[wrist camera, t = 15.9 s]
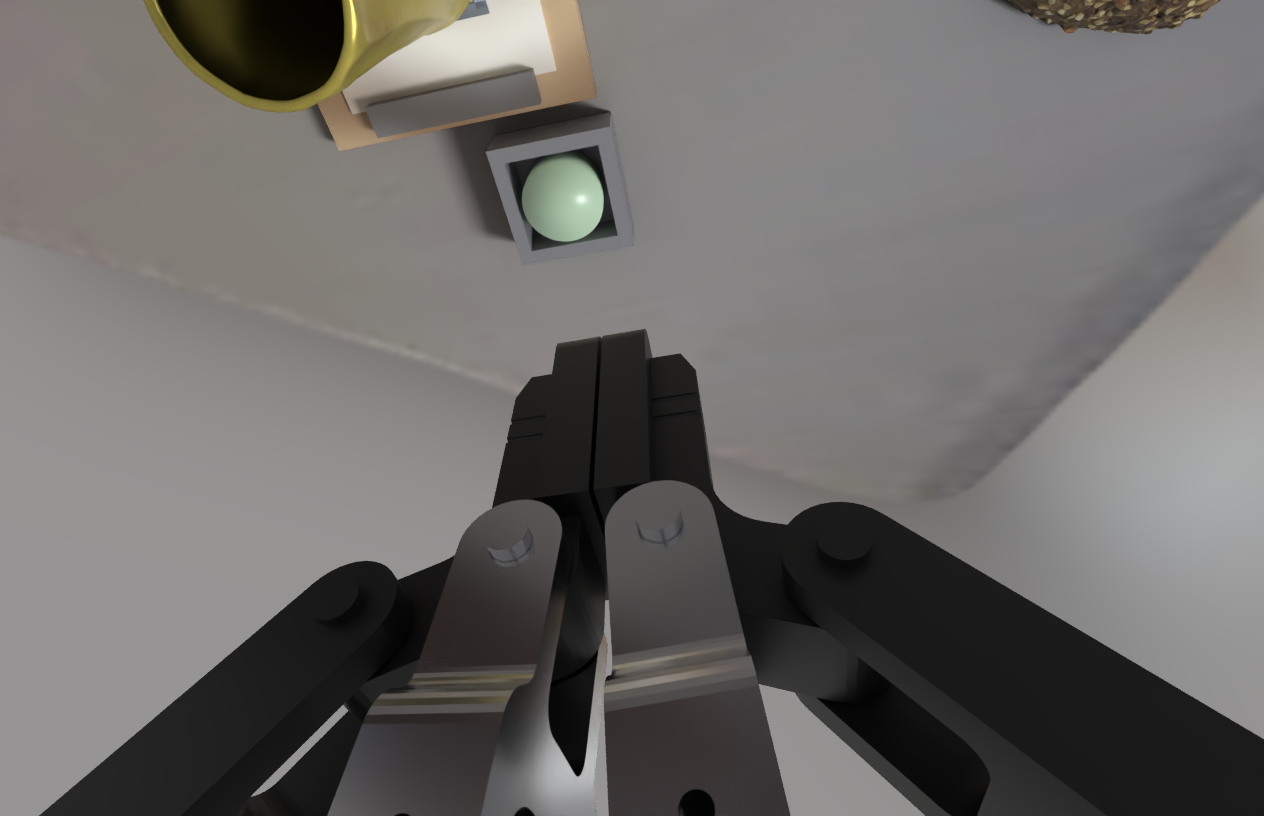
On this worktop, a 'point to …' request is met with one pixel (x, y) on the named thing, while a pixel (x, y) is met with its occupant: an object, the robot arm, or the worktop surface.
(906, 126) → the worktop surface
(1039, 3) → the bread roll
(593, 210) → the button
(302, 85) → the vase
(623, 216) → the button housing
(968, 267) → the worktop surface
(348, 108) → the clipboard
